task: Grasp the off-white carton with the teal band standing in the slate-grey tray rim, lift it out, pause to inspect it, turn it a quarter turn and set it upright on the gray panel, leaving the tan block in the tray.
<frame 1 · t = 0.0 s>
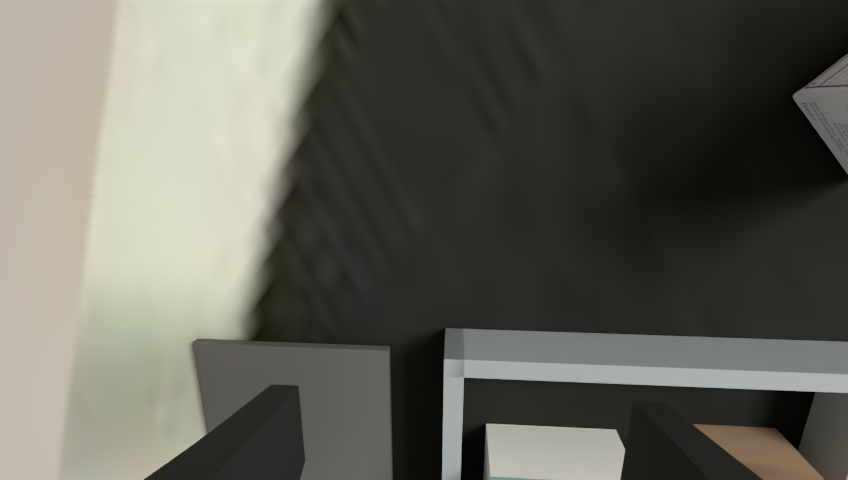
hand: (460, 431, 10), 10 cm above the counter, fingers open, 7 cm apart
tray rim: (621, 465, 22), on the counter
carton: (546, 459, 23), resting in tray rim
tan block: (718, 468, 22), resting in tray rim
gray panel: (302, 449, 23), on the counter
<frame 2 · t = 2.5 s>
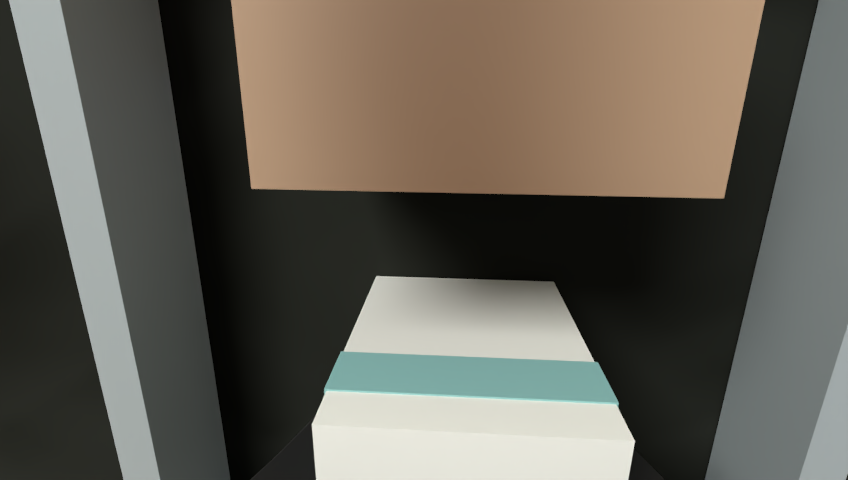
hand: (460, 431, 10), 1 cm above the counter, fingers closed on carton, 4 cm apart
tray rim: (465, 257, 10), on the counter
carton: (460, 391, 11), resting in tray rim, touching gripper
tan block: (472, 39, 9), resting in tray rim
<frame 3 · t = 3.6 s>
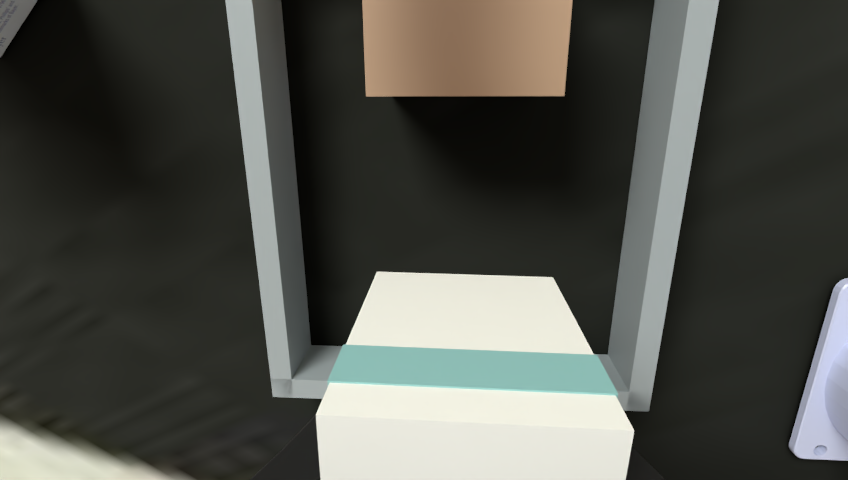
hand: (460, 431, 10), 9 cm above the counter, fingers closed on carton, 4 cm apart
tray rim: (460, 165, 17), on the counter
carton: (459, 387, 12), point 7 cm above the counter, touching gripper
tan block: (462, 33, 16), resting in tray rim
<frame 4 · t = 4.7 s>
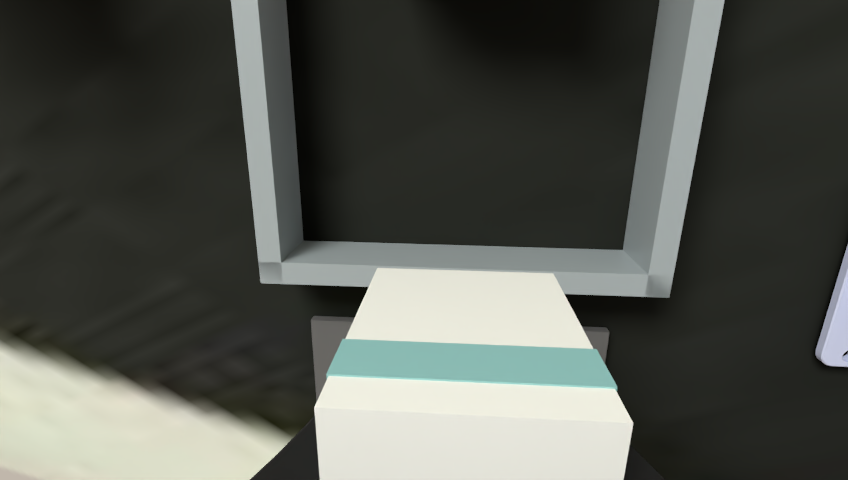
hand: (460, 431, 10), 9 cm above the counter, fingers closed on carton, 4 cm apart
tray rim: (467, 29, 16), on the counter
carton: (460, 383, 12), point 7 cm above the counter, touching gripper
gray panel: (454, 413, 21), on the counter
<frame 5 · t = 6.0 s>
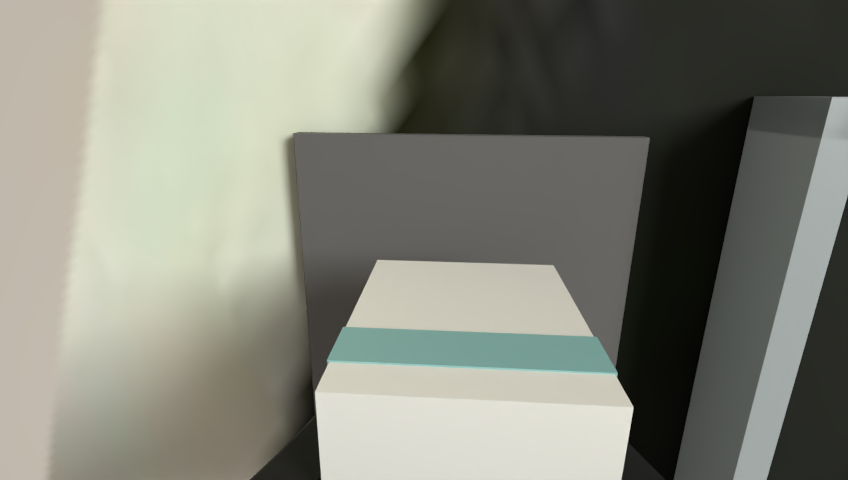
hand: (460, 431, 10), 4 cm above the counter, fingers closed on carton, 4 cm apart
carton: (460, 376, 12), point 2 cm above the counter, touching gripper
gray panel: (460, 338, 14), on the counter
when the fingers open (2 cm above the counter, at t = 7.2 s): carton stays where it is, resting on gray panel.
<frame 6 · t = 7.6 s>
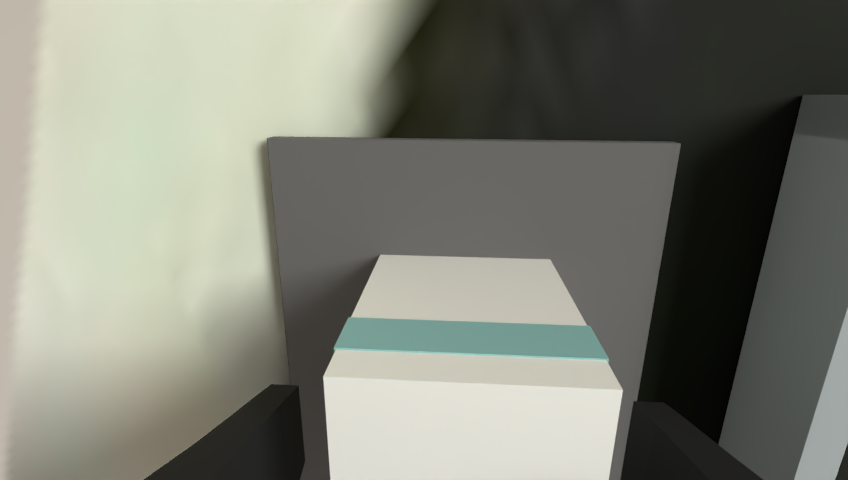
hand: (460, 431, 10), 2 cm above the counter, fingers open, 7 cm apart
carton: (460, 367, 12), resting on gray panel
gray panel: (460, 369, 12), on the counter
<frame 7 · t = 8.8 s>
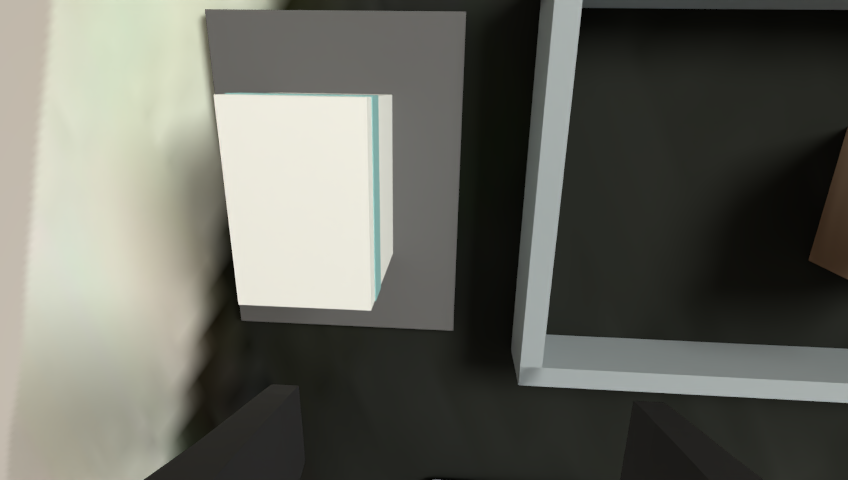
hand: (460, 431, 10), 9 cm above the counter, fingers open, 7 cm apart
tray rim: (757, 194, 17), on the counter
carton: (340, 176, 18), resting on gray panel
gray panel: (342, 182, 18), on the counter
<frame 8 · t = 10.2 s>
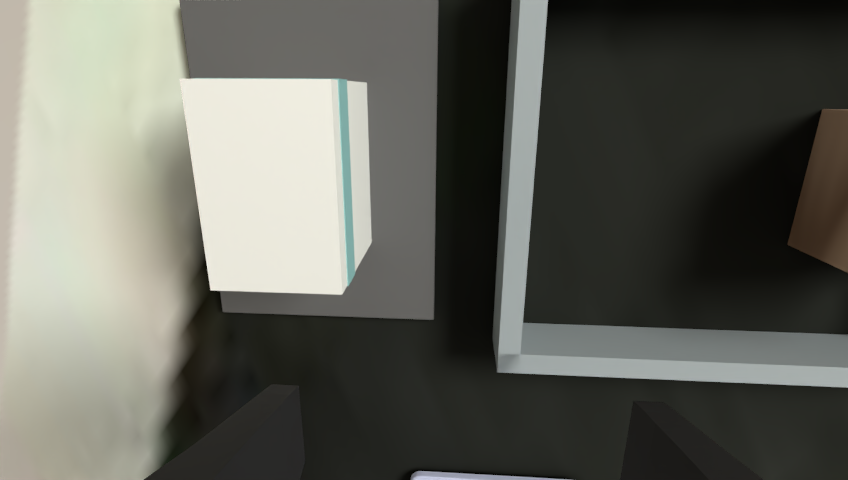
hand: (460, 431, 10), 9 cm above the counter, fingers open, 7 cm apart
tray rim: (733, 179, 17), on the counter
carton: (317, 165, 18), resting on gray panel
gray panel: (320, 172, 18), on the counter
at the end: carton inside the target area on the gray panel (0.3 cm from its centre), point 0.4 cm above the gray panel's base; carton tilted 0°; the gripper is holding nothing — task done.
